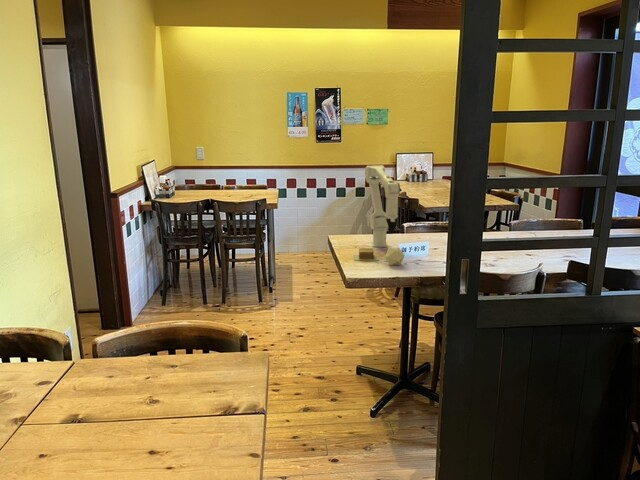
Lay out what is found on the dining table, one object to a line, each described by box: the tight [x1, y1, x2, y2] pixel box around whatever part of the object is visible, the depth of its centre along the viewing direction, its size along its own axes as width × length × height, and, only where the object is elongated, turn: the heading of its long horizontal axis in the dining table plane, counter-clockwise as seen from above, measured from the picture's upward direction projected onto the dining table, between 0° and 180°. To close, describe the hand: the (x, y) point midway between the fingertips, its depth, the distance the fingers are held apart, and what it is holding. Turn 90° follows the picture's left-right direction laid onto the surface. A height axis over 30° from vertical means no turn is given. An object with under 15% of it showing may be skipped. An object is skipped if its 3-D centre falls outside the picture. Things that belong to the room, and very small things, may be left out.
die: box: [384, 247, 405, 266], centre depth 220 cm, size 8×9×10 cm
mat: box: [353, 254, 380, 262], centre depth 231 cm, size 9×12×1 cm
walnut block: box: [358, 247, 375, 259], centre depth 232 cm, size 4×7×8 cm
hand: (391, 232), depth 239 cm, fingers closed
